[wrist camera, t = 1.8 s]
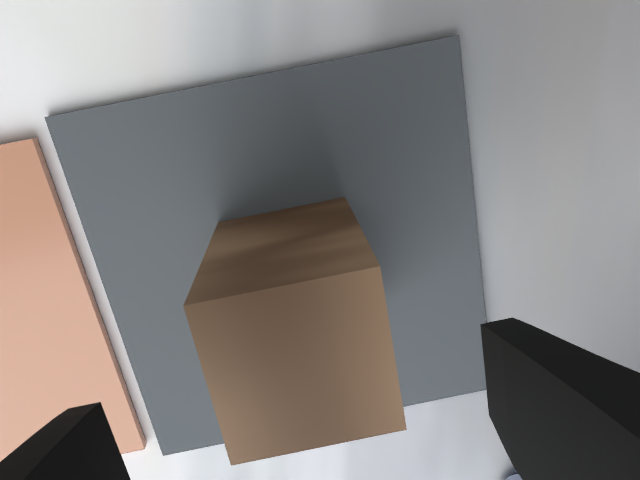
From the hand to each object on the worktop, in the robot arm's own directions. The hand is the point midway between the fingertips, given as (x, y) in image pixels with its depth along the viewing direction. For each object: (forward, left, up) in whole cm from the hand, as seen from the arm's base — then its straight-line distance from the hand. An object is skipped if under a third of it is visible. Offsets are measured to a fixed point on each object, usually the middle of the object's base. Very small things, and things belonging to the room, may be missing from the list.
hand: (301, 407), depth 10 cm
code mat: (0, 0, -8) cm, 8 cm away
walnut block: (0, 0, -7) cm, 7 cm away
